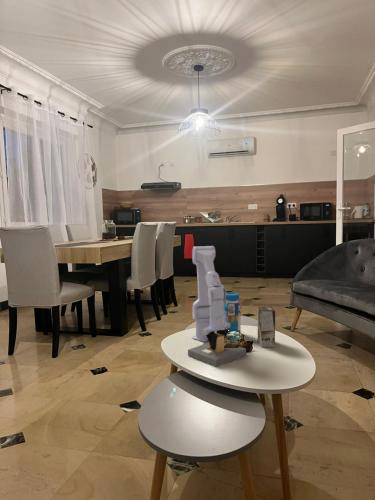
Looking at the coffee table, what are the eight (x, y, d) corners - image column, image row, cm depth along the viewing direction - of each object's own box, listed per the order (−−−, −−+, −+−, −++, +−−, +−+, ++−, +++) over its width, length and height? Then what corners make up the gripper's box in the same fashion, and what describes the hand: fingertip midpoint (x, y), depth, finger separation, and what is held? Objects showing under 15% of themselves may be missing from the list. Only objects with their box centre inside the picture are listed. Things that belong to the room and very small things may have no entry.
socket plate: (217, 345, 161) (217, 337, 161) (245, 354, 149) (245, 346, 149) (188, 355, 149) (187, 347, 149) (216, 366, 137) (216, 358, 137)
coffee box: (275, 347, 157) (275, 311, 156) (260, 347, 157) (260, 311, 156) (271, 340, 166) (271, 306, 165) (257, 340, 167) (257, 306, 165)
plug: (215, 349, 152) (215, 332, 152) (224, 352, 148) (224, 335, 148) (208, 351, 149) (208, 334, 149) (217, 354, 146) (217, 337, 145)
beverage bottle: (220, 333, 178) (219, 293, 176) (232, 330, 183) (232, 291, 181) (232, 337, 171) (231, 296, 169) (244, 334, 176) (244, 293, 174)
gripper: (211, 320, 140) (211, 354, 141) (235, 314, 149) (235, 345, 151) (198, 317, 145) (199, 350, 146) (223, 311, 155) (223, 341, 156)
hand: (216, 347), depth 149 cm, fingers closed on plug, 4 cm apart
